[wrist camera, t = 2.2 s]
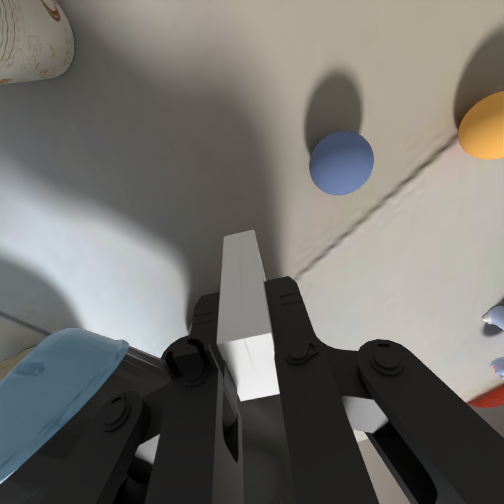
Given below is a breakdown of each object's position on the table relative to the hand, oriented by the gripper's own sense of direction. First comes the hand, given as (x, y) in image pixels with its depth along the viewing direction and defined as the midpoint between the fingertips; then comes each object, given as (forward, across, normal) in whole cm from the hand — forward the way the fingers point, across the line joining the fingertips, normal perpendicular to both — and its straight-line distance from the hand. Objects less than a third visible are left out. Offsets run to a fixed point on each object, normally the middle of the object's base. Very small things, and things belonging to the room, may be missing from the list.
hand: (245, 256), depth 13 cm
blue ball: (+13, -9, 0) cm, 16 cm away
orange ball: (+13, -23, 0) cm, 27 cm away
